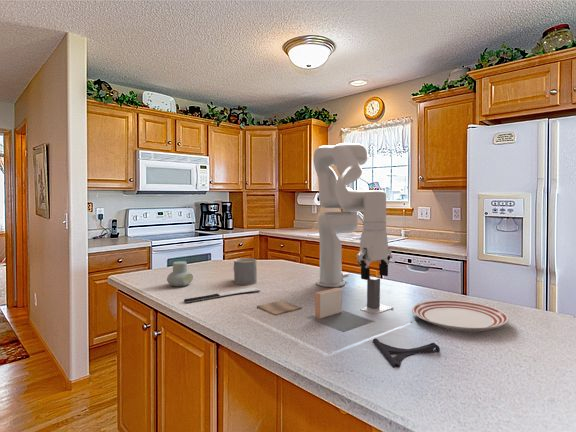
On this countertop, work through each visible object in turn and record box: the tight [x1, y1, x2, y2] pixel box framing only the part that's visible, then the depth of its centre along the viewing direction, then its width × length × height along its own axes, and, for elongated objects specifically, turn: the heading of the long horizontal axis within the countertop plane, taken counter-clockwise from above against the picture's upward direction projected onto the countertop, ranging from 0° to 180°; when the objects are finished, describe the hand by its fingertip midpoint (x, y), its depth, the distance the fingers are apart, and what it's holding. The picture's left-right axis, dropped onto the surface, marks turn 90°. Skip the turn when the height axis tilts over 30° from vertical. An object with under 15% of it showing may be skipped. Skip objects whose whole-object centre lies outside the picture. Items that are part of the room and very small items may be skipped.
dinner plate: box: [411, 299, 510, 332], centre depth 116 cm, size 27×27×3 cm
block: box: [314, 287, 343, 319], centre depth 119 cm, size 10×2×8 cm, turn 129°
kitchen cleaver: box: [183, 286, 262, 304], centre depth 146 cm, size 31×2×10 cm
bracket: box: [372, 338, 441, 368], centre depth 93 cm, size 14×15×3 cm
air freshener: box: [166, 260, 194, 287], centre depth 161 cm, size 11×8×10 cm
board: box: [256, 299, 302, 316], centre depth 127 cm, size 11×11×1 cm
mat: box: [306, 309, 375, 333], centre depth 116 cm, size 14×16×1 cm
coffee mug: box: [233, 257, 258, 286], centre depth 167 cm, size 13×10×10 cm
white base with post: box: [359, 276, 394, 315], centre depth 125 cm, size 6×10×11 cm, turn 129°
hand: (374, 277), depth 125 cm, fingers open, 9 cm apart
